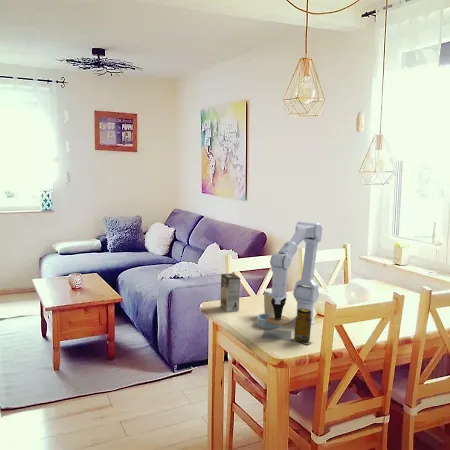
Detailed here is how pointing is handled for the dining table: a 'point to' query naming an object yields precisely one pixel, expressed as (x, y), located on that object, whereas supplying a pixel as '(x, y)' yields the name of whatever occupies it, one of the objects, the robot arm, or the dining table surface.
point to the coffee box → (230, 292)
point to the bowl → (263, 323)
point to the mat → (277, 334)
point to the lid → (277, 320)
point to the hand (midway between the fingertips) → (278, 316)
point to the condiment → (302, 326)
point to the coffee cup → (268, 302)
